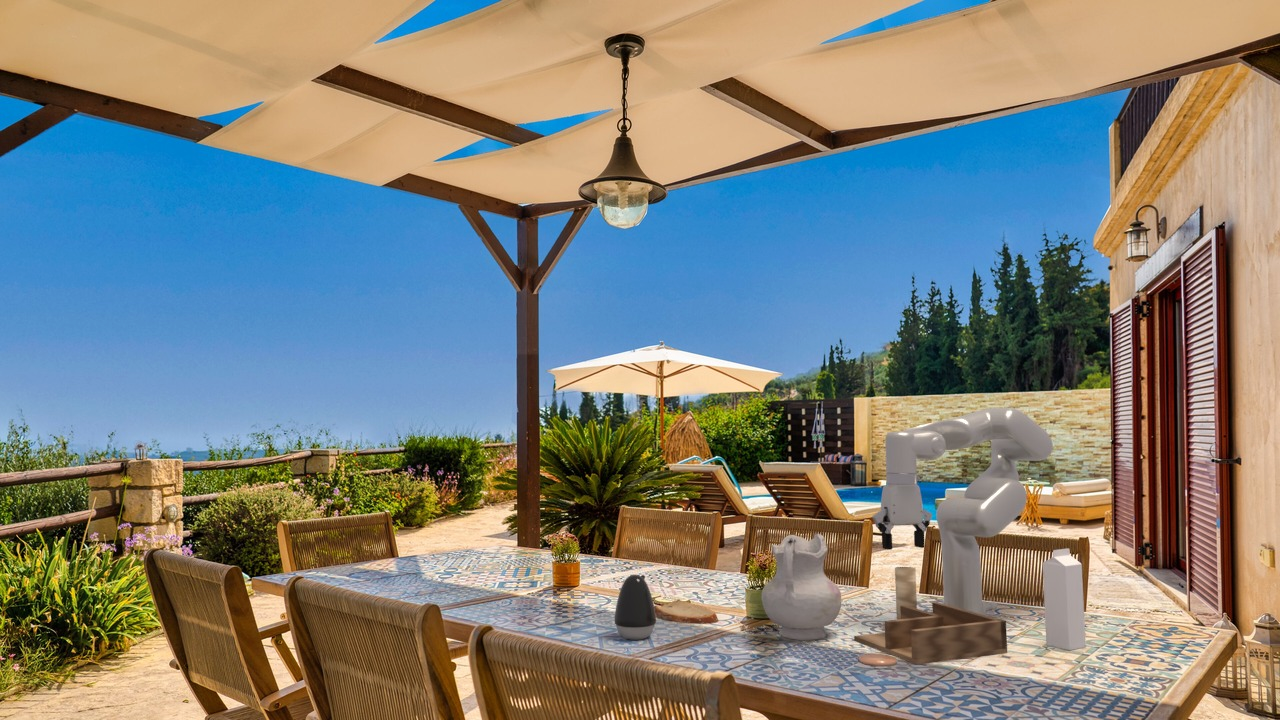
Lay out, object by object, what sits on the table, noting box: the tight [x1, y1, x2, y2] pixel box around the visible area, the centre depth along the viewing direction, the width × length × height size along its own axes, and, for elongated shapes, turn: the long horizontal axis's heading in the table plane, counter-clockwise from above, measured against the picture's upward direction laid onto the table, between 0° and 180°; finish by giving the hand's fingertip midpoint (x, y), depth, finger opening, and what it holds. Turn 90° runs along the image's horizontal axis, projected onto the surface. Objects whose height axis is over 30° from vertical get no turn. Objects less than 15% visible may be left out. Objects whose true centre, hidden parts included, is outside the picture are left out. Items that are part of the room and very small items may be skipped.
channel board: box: [853, 601, 1008, 665], centre depth 206 cm, size 24×24×7 cm
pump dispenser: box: [614, 574, 657, 641], centre depth 219 cm, size 10×10×15 cm
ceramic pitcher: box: [760, 532, 842, 641], centre depth 218 cm, size 22×20×25 cm
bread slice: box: [654, 599, 720, 625], centre depth 242 cm, size 18×18×4 cm
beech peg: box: [894, 566, 918, 620], centre depth 224 cm, size 5×5×15 cm
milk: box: [1042, 547, 1087, 651], centre depth 205 cm, size 6×6×22 cm
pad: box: [858, 653, 898, 667], centre depth 193 cm, size 8×8×1 cm
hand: (903, 548), depth 225 cm, fingers open, 9 cm apart
